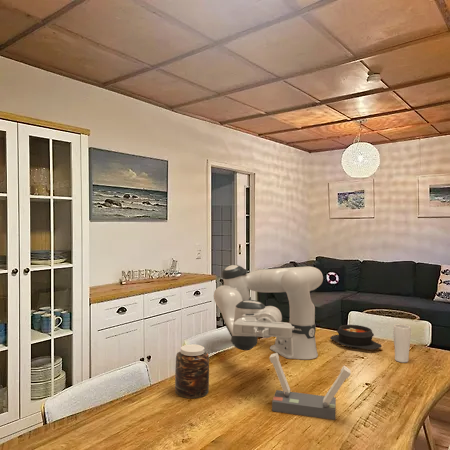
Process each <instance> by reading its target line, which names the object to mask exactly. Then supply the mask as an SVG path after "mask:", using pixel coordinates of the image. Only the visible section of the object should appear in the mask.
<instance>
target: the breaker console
mask: <svg viewBox="0 0 450 450" xmlns="http://www.w3.org/2000/svg"><path fill="white" fill-rule="evenodd" d="M325 396H326V395H318V394H317V395H316V394H310V393H303V392H295V391H290V393H289V396H288V397H286V396H285V394H284V392H283V390H280V389H276V390H275V393H274V394H273V398H272V401H271V412H275V413H276V412H277V413H281V414H282V413H283V414H289V415H290V414H291V415H298V416H304V417H309V418H310V417H311V418H318V419H326V420H332V421H333V420H334V421H336V412H337V411H336V410H337V409H336V404H337V402H336V401H337V398H336V397H335V396H334V397H333V399H332V400H331V402H330V403H329V405H328V406H327V407H324V406H323V399H324V397H325Z"/></svg>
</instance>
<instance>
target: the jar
mask: <svg viewBox="0 0 450 450" xmlns="http://www.w3.org/2000/svg"><path fill="white" fill-rule="evenodd" d="M174 367H175V368H174V369H175V372H174V373H175V374H174V375H175V376H174V377H175V379H174V380H175V381H174V385H175V386H174V393H175V394H176V395H177V396H179V397H180V398H184V399H199V398H202V397H205V396H207V395H208V394H209V389H210V388H209V387H210V357H209V353H208V352H207V351H205V347H204V345H200V344H195V343H194V344H193V343H192V344H185V345H182V346H181V347H180V351H178V352H177V353H176V355H175V366H174Z"/></svg>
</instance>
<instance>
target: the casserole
mask: <svg viewBox="0 0 450 450" xmlns="http://www.w3.org/2000/svg"><path fill="white" fill-rule="evenodd" d="M336 332H337V334H336V335H334V334H333V335H332V336H330V337H329V338H330V340H332V341H334V342H335V343H337V344H339V345H341V346H344V347H346V348H349V349H356V350H361V349H362V350H366V351H367V350H369V351H371V350H377V349H380V348H382V344H380V343H378V342H375V341H374V340H373V337H374V336H375V335H374V333H373V330H372V329H371V328H370V327H368V326H364V325H359V324H357V325H356V324H344V325H340V326H339V327H338V329H337V331H336Z"/></svg>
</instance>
